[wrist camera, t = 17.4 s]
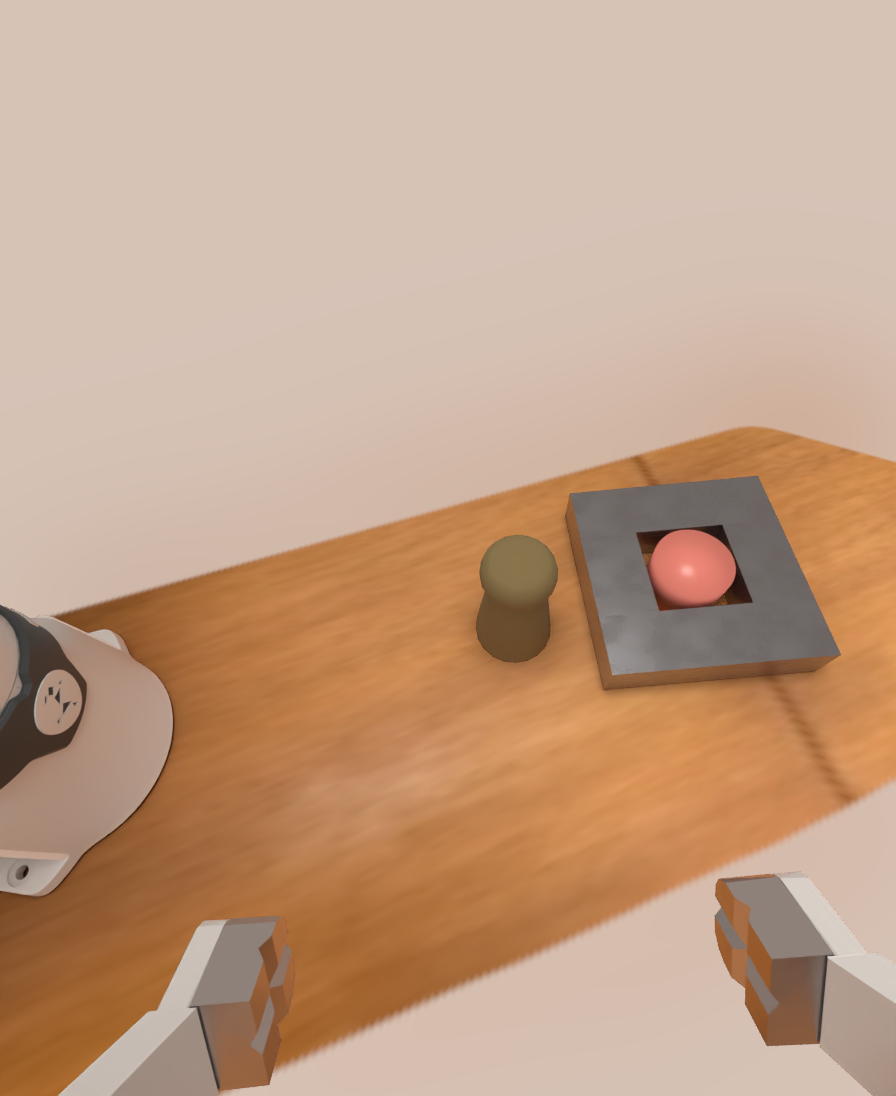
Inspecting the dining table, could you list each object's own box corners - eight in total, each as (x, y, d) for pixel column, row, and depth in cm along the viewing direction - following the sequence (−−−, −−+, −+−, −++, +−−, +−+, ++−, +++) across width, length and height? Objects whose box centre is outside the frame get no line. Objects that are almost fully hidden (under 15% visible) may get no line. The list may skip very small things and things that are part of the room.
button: (652, 622, 44) (666, 601, 41) (633, 558, 47) (645, 533, 44) (727, 615, 44) (747, 593, 41) (703, 551, 47) (720, 526, 44)
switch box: (603, 689, 42) (612, 675, 39) (565, 516, 50) (570, 493, 47) (815, 671, 41) (841, 654, 38) (741, 500, 50) (757, 475, 47)
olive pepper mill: (501, 581, 47) (505, 506, 38) (564, 617, 45) (584, 548, 36) (461, 636, 45) (454, 571, 35) (525, 677, 43) (536, 619, 33)
